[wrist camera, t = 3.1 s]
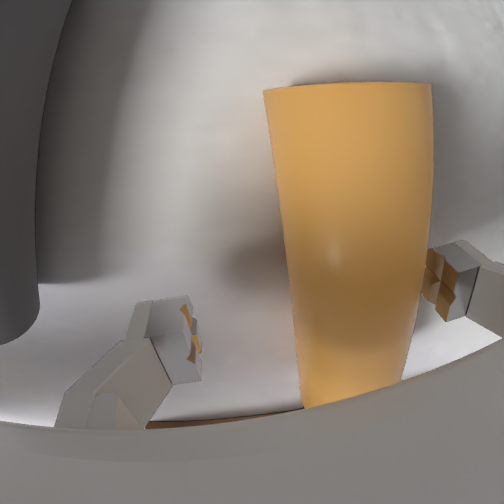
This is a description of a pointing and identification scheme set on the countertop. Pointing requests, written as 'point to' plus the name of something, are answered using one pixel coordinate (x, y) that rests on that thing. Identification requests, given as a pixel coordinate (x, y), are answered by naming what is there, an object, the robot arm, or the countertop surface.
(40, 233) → the countertop surface
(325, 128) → the orange rod
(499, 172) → the countertop surface
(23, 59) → the charcoal rod
